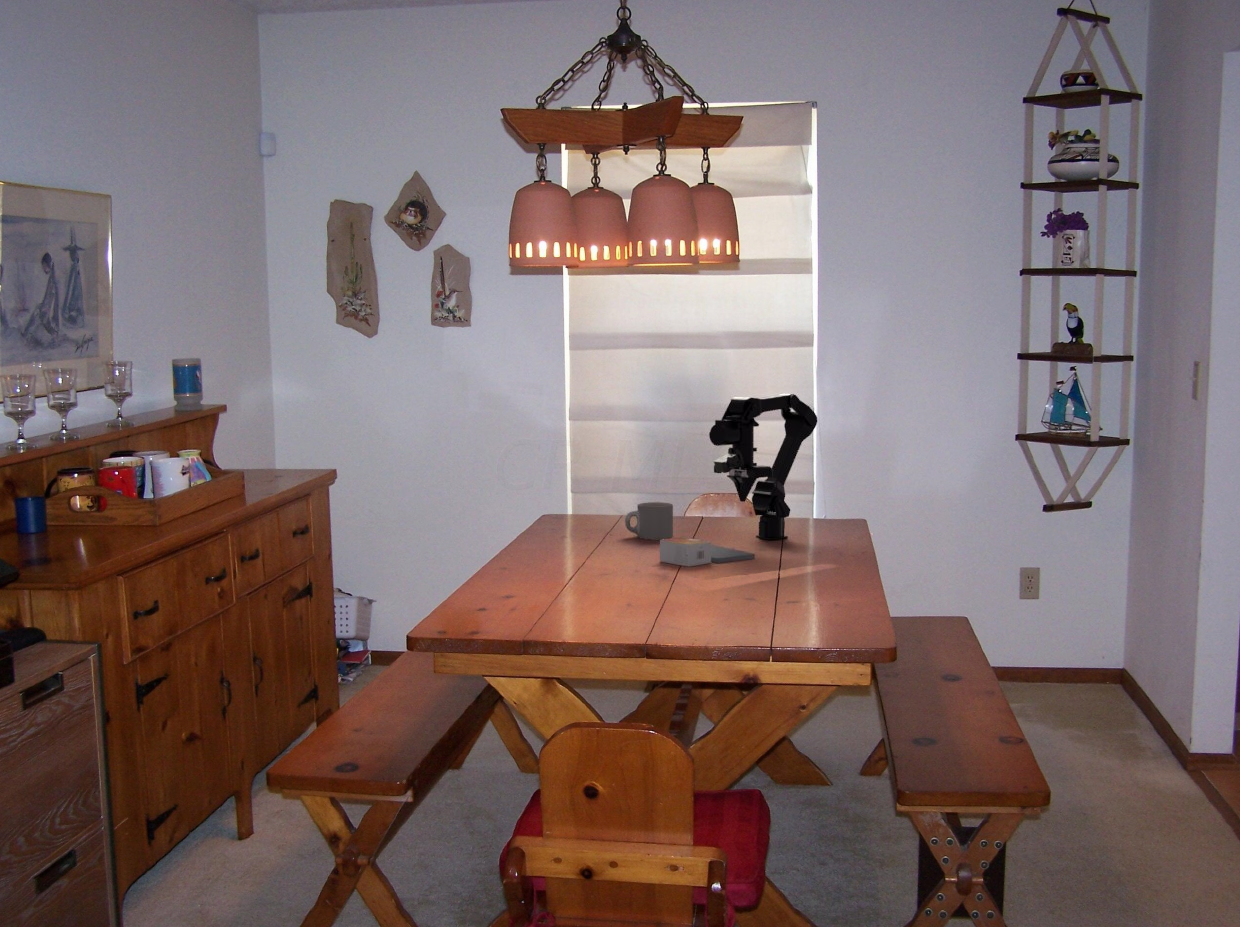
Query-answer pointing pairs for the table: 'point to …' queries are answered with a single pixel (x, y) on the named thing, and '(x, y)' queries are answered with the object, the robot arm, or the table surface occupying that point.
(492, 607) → the table surface
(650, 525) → the coffee mug
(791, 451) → the robot arm
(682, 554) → the small box
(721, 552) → the mat
